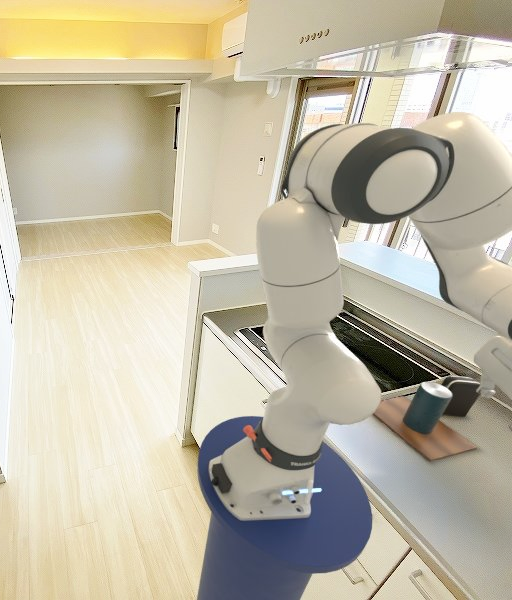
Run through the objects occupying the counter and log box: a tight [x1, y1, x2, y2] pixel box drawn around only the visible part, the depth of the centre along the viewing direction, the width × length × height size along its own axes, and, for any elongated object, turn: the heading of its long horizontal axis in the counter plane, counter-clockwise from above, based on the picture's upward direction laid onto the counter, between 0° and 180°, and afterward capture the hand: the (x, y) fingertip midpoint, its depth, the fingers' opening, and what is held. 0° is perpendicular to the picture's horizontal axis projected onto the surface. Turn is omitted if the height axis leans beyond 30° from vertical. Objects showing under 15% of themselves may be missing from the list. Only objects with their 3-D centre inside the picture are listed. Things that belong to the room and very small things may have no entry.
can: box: [403, 381, 453, 434], centre depth 83 cm, size 6×6×12 cm
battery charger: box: [440, 375, 481, 418], centre depth 88 cm, size 7×4×11 cm, turn 77°
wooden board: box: [372, 395, 478, 462], centre depth 86 cm, size 14×18×1 cm
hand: (498, 412), depth 62 cm, fingers open, 8 cm apart
